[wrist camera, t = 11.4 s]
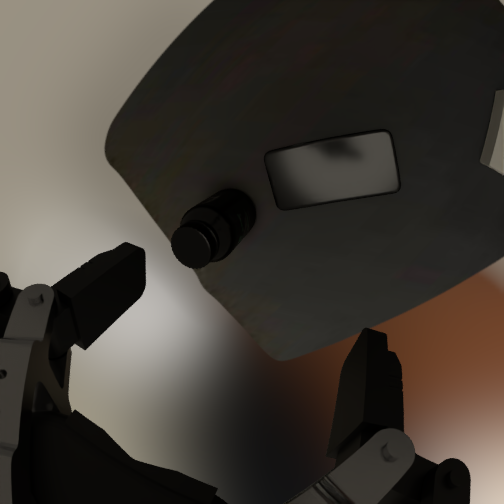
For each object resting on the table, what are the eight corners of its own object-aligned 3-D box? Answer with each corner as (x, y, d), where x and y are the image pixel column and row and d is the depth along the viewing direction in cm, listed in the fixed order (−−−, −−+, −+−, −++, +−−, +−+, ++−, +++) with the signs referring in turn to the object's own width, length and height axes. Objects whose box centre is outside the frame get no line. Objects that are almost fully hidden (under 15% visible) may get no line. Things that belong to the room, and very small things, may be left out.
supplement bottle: (206, 225, 42) (160, 263, 32) (215, 181, 39) (165, 207, 29) (250, 242, 41) (214, 287, 31) (262, 197, 38) (227, 230, 28)
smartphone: (389, 127, 29) (263, 152, 35) (391, 127, 29) (261, 152, 35) (401, 191, 32) (279, 210, 38) (402, 193, 31) (277, 212, 37)
